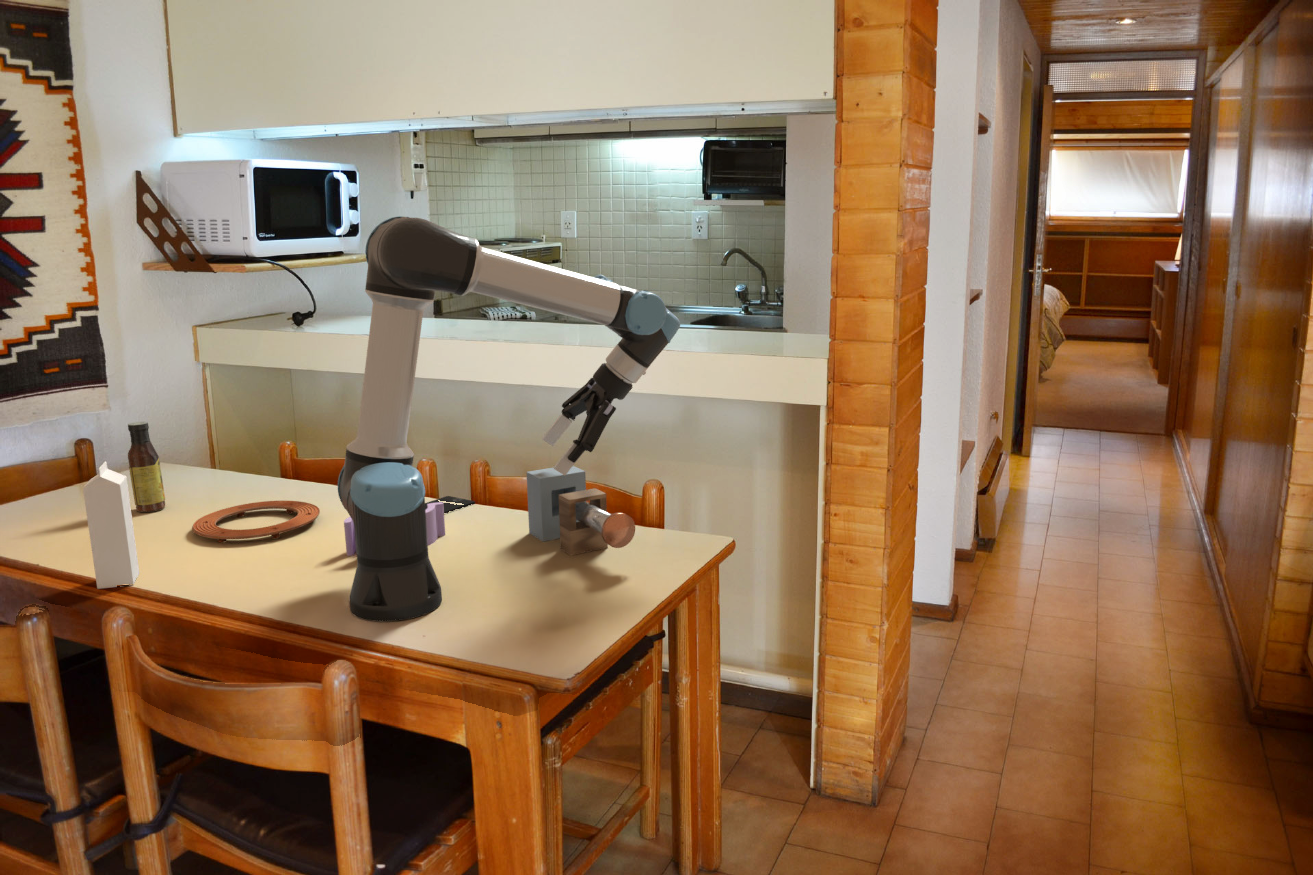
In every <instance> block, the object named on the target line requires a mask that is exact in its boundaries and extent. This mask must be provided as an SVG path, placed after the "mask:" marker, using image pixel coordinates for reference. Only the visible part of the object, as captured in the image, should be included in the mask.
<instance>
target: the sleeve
mask: <svg viewBox="0 0 1313 875" xmlns="http://www.w3.org/2000/svg"><path fill="white" fill-rule="evenodd" d="M584 501H586V502H589V503H590V504H592V505H594V506H596V507H598V508H600V509H602V510H604V511H606V512H608V511H607V510H608V509H607V493H606V492H604V491H602V490H599V489H597V488H590V489H586V490H583V491H577V492H571V493H565V494H560V495H559V519H560V538H559V540H560V541H559V543H560V545H559V546H560V549H561V550H562V551H564V552H565V553H567V554H568V555H570V556H574V555H577V554H578V555H579V554H584V553H589V552H594V551H598V550H602V549H608V546H609V545H608V544H607V543H605V541H604V540H603V538H602V533H600V532H598V531H596V530H594V529H592V528H591V527H589V526H587V525H585V524H583V523H581V522H576V508H575V503H579V502H584Z"/></svg>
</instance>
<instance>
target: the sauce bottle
mask: <svg viewBox="0 0 1313 875" xmlns="http://www.w3.org/2000/svg"><path fill="white" fill-rule="evenodd" d="M127 429H128V431H129V435H130V448H129V450H128V452H127V460H128V465H129V466H128V469H129V476H130V482H131V488H132V494H133V500H134V501H133V502H134V506H135V509H136V511H137V512H139V513H151V512H157V511H161V510H162V509H165V507H166V495H165V490H164V483H163V476H162V475H163V474H162V469H161V463H160V462H161V461H160V458H159V454H158V452H157V451H156V449H155V447H154V445H153V444H152V442H151V439H150V432H149V423H148V422H147V421H135V422H131V423H128V424H127Z"/></svg>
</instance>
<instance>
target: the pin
mask: <svg viewBox="0 0 1313 875" xmlns="http://www.w3.org/2000/svg"><path fill="white" fill-rule="evenodd" d="M575 508H576V520H578V521H580V522H581V523H583V524H585V525H587V526H589V527H591V528H592V529H594V530H596V531H598V532H600V533H602V538H603V540H604V541H605V543H607V544H608V546H610V547H612V548H615V549H620V548H624V547H626V546H628V545H629V543H631V541H632V540H633V538H634V536H635V534H636V533H635V532H636V523H635V521H634V519H633V518H632V517H631V516H630V515H628V514H626V513H623V512H619V511H618V512H614V513H610V512H608V511H607V512H606V511H604V510H602V509H600V508H598V507H596V506H594V505H592V504H590V502H589V501H584V502H579V503H575Z"/></svg>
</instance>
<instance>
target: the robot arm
mask: <svg viewBox="0 0 1313 875" xmlns="http://www.w3.org/2000/svg"><path fill="white" fill-rule="evenodd" d="M364 252H365V259H366V263H367V273H366V279H365V289H364V292H365V293H366V294H367V296H368V297H369V298H370V299H371V302H372V308H371V316H370V324H369V325H370V326H369V332H368V333H369V334H368V340H367V349H366V358H365V367H364V373H363V374H364V376H363V382H362V392H361V400H360V407H359V408H360V409H359V417H358V424H357V431H356V438H354V439H353V440H352V441H351V442H349V443H348V444H347V445H346V448H345V449H346V450H345V457H344V465H343V466H342V469H341V470H340V472H339V475H338V478H337V479H338V480H337V493H338V498H339V500H340V502H341V505H342V506H343V509H345V510H346V512H347V513H348V515H349V517H351V518H352V520H353V523H354V530H355V542H356V552H355V553H356V561H357V563H356V564H357V565H356V569H355V574H354V578H353V581H352V585H351V589H350V593H349V600H348V601H349V609H350V612H351V614H352V615H353V616H355V617H356V618H359V619H362V620H366V621H371V622H396V621H397V622H398V621H405V620H409V619H414V618H417V617H418V618H419V617H421V616H424V615H426V614H428V613H431V612H433V611H434V610H436V609H438V607H439V606H441V604H442V602H443V597H442V596H443V595H442V586H441V583H440V581H439V579H438V577H437V574H436V571H435V570H434V567H433V565H432V563H431V560H430V556H429V545H428V542H427V527H426V512H425V503H426V500H425V499H426V498H425V496H426V488H425V484H424V479H423V475H422V473H421V472H420V471H419V470H418V469H417V468H416V467H414V466H413V464H414V458H415V452H413V450H412V449H411V448H410V446H409V445H408V442H407V441H408V434H409V426H410V419H411V410H412V404H413V403H412V402H413V394H414V388H415V387H414V386H415V379H416V371H417V363H418V355H419V349H420V348H419V347H420V340H421V332H422V324H423V316H424V311H425V309H426V308H427V307H428V306H430V305H431V304H432V303H433V302H434V301H435V293H436V292H444V293H449V294H454V295H457V296H462V297H463V296H466V294H468V293H475V294H479V295H483V296H486V297H491V298H495V299H499V300H501V301H502V300H503V301H507V302H512V303H515V304H520V305H521V306H522V305H523V306H527V307H531V308H535V309H539V310H542V311H546V312H551V313H555V314H559V315H564V316H567V317H571V318H576V319H580V320H584V321H587V322H592V323H594V324H595V323H596V324H600V325H604V326H605V327H607V328H608V329H609V330H610V331H612V332H614V333H615V334H616V335H617V336H618V337H620V338H621V340H619V341H618V343H616V345H615V346H614V348H613V349H612V350H611V351H610V353H609V354H608V355H607V357H606V358H605V362H604V363H601V364H600V366H599V367H598V368H597V369H596V371H595V372H594V373H593V376H592V377H590V378H589V379H588V381H587V382H586V383H585V384H584V385H583V386H582V387H581V388H580V389H579V390H577V391H576V392H575V393H573V394H572V395H571V396H570V397H569V398H568V399H566V400H565V401H564V402H563V403H562V404H561V408H563V409H562V410H561V413H560V414H559V416H557V418H556V419H555V421H554V422H553V423H552V425H551V426H549V429H548V430H547V431H545V433H544V435H542V437H541V440H542V441H544V442H545V443H547V444H549V445H550V446H551V447H554V445H555V444H556V443H557V441H558V440H560V438H561V437H562V435H564V433H565V432H566V430H567V429H568V428H569V427H570V425H571V424H572V423H573V421H575V420H576V417H578V416H579V415H581V414H583V413H585V414H586V417H585V420H584V422H583V425H582V427H581V430H580V432H579V435H578V437H577V438H576V439H574V440H572V443H571V444H570V446H569V447H568V448H567V449H566V450H565V452H564V453H563V454H562V456H561V457H560V458H559V459H558V460H557V462H555V465H553V466H552V468H554V469H555V470H556V471H558V472H560V473H561V474H563V475H566V474H567V473H568V471H569V470H570V469H571V468H572V466H575V463H576V462H577V461H578V460H579V459H580V458H581V456H582V455H583V454H584V453H585V451H586V452H589V453H592V452H593V451H594V449H595V447H596V446H597V443H598V441H599V439H600V438H601V436H602V434H603V432H604V430H605V429H606V426H607V424H608V423H609V421H610V419H611V417H613V414H614V413H615V412H616V410H617V407H615V406H614V405H612V402H613V401H614V399H617V400H619V401H622V400H624V399H625V397H626V396H627V395H628V394H629V393H630V391H631V390H632V389H633V384H636V383H637V382H638V381H639V380H640V379H641V377H642V376H646V374H647V370H648V368H650V367H651V365H652V364H653V363H654V361H655V360H656V359H657V357H659V355H660V354H661V353H662V351H663V350H664V349H665V348H666V347H667V346H668V344H670V343H671V341H672V340H673V338H674V337H675V335H677V332H678V330H679V329H680V328H681V321H680V320H679V318H678V317H677V316H676V315H675V314H674V313H672V312H671V311H670V309H668V308H667V307H666V303H665V302H664V300H663V299H662V298H661V297H660V296H659V295H658V294H656V293H654V292H652V291H648V290H642V289H641V290H640V289H636V288H633V287H630V286H626V285H621V284H617V282H614V280H612V279H610V278H608V277H607V276H605V275H603V274H597V275H594V276H589V275H586V274H583V273H579V272H575V271H571V270H568V269H563V268H560V267H557V266H554V265H550V264H546V263H542V262H539V261H535V260H531V259H528V258H524V257H520V256H516V255H512V254H509V253H507V252H506V253H505V252H503V251H498V250H495V249H491V248H488V247H485V246H484V247H483V246H481V245H480V243H479V241H478V239H477V238H474V237H471V236H468V235H464V234H461V233H458V232H456V231H453V230H450V229H448V228H445V227H443V226H440V225H439V224H437V223H434V222H432V221H429V220H427V219H425V218H424V219H423V218H421V217H409V216H400V215H399V216H394V217H390V218H387V219H384V220H383V221H381V222H380V223H379V224H378V225H376V226H375V227H374V229H372V231H371V232H370V234H369V235H368V239H367V241H366V245H365V251H364Z"/></svg>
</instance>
